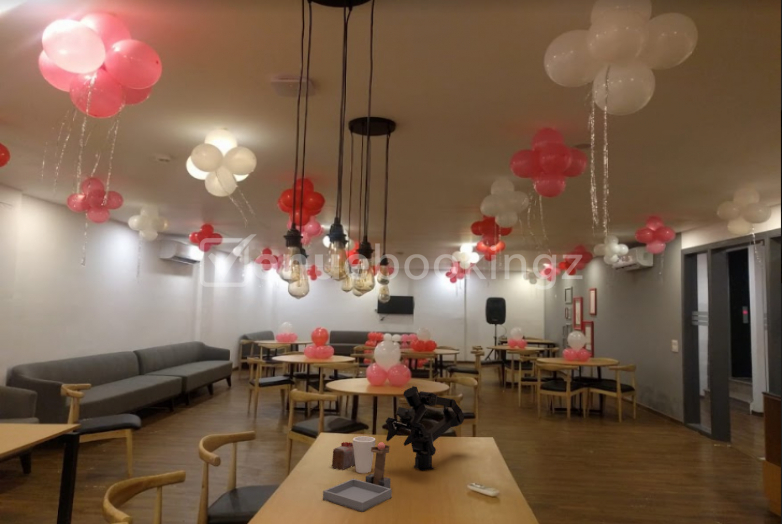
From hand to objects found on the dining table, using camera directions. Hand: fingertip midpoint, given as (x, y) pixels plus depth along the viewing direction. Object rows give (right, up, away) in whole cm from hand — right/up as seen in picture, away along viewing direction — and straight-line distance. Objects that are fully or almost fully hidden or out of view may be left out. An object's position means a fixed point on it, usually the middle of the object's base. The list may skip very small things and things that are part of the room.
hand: (395, 442), depth 214 cm
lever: (-7, -12, -14) cm, 20 cm away
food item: (-21, -15, +16) cm, 30 cm away
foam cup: (-13, -15, +8) cm, 22 cm away
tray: (-14, -12, -23) cm, 30 cm away
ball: (-6, +2, -11) cm, 12 cm away
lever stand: (-7, -13, -13) cm, 20 cm away
